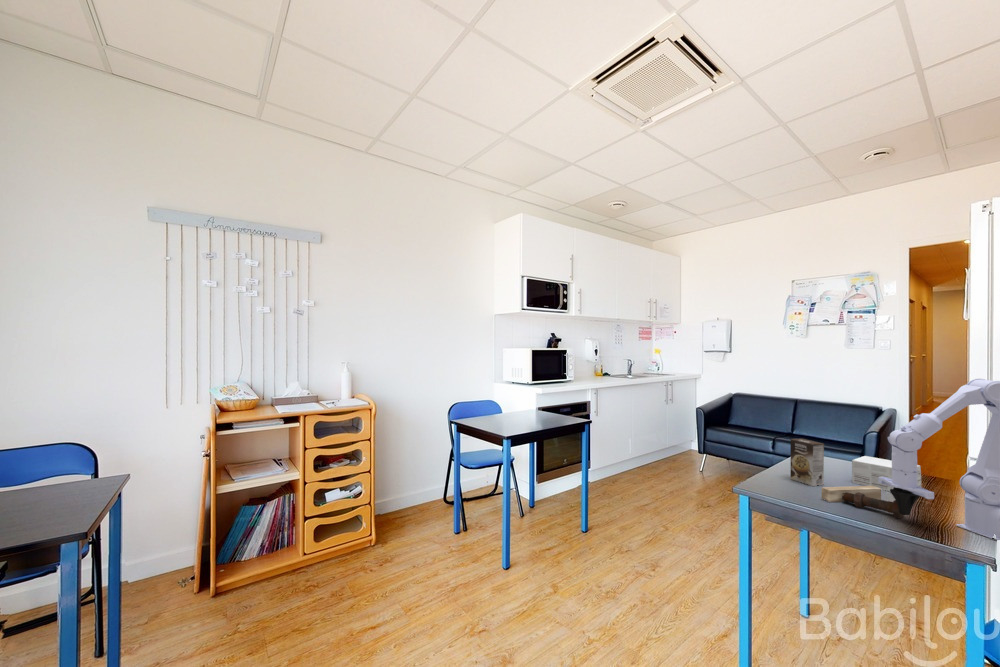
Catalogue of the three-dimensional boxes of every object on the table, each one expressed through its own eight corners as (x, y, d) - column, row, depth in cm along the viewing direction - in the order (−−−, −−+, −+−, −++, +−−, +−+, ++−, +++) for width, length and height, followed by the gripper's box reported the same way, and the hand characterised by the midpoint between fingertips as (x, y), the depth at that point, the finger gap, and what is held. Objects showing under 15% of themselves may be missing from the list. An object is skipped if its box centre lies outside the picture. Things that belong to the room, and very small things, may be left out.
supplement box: (922, 490, 158) (921, 465, 158) (909, 496, 151) (909, 470, 151) (865, 477, 172) (864, 454, 172) (851, 483, 165) (851, 459, 165)
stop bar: (881, 500, 147) (880, 488, 147) (829, 502, 144) (829, 490, 145) (872, 496, 150) (872, 485, 150) (821, 498, 147) (821, 487, 148)
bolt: (844, 507, 145) (903, 521, 132) (839, 502, 143) (898, 516, 130) (847, 490, 147) (905, 503, 134) (841, 485, 144) (900, 497, 132)
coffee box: (789, 479, 169) (789, 438, 169) (801, 477, 171) (801, 437, 171) (812, 486, 160) (812, 444, 161) (824, 485, 162) (824, 442, 162)
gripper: (869, 463, 137) (870, 505, 136) (919, 477, 122) (919, 525, 122) (888, 463, 138) (889, 504, 137) (940, 477, 123) (940, 524, 123)
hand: (905, 514), depth 130 cm, fingers closed
